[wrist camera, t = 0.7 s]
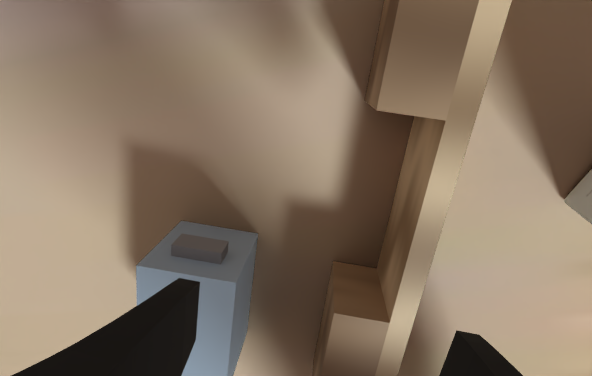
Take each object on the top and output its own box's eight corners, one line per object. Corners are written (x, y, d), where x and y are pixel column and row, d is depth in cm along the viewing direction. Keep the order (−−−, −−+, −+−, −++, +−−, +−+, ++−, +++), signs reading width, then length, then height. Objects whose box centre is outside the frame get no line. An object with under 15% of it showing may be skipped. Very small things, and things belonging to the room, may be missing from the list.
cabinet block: (247, 330, 22) (224, 400, 17) (178, 318, 22) (138, 384, 17) (259, 223, 20) (237, 271, 15) (182, 210, 20) (136, 253, 15)
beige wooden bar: (367, 372, 22) (376, 443, 18) (313, 362, 22) (309, 431, 18) (471, -19, 15) (528, -55, 11) (389, -29, 15) (413, -69, 11)
